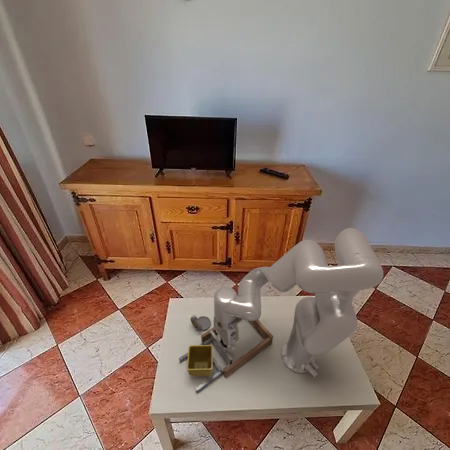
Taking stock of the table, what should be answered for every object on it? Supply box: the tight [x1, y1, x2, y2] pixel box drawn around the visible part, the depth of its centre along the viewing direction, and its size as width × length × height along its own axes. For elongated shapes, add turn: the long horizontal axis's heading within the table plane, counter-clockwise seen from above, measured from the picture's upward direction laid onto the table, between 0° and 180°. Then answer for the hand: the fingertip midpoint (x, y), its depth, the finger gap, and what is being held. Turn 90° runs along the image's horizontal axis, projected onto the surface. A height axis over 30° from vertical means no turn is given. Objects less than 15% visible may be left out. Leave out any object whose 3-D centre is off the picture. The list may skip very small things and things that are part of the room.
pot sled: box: [178, 330, 233, 394], centre depth 96 cm, size 14×15×7 cm
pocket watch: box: [189, 314, 212, 332], centre depth 108 cm, size 8×8×10 cm
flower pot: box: [186, 344, 214, 377], centre depth 94 cm, size 9×9×9 cm
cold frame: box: [200, 317, 274, 379], centre depth 103 cm, size 17×23×6 cm
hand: (224, 345), depth 100 cm, fingers closed
